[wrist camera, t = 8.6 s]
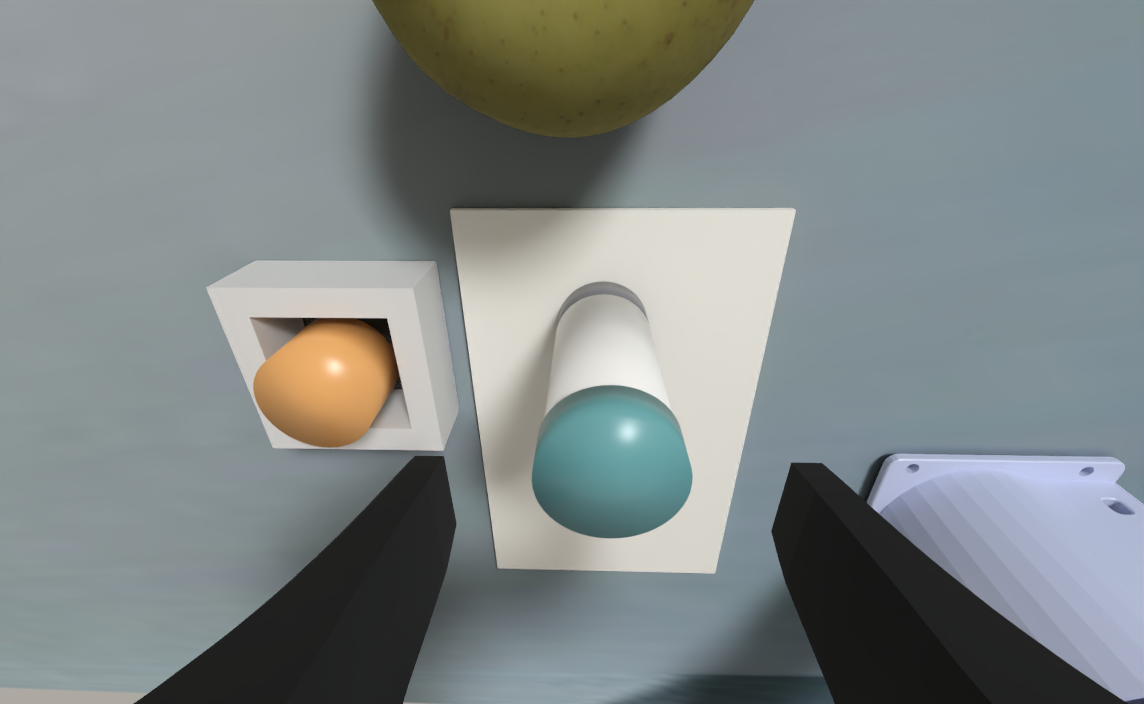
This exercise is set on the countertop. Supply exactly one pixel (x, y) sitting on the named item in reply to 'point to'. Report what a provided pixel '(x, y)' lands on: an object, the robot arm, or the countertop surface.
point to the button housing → (350, 290)
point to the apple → (563, 55)
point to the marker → (608, 422)
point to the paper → (682, 341)
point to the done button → (327, 382)
